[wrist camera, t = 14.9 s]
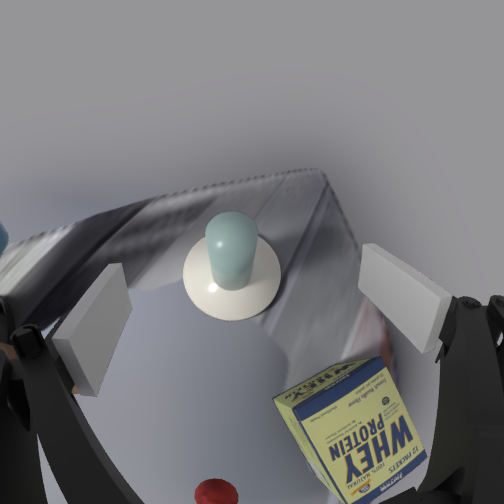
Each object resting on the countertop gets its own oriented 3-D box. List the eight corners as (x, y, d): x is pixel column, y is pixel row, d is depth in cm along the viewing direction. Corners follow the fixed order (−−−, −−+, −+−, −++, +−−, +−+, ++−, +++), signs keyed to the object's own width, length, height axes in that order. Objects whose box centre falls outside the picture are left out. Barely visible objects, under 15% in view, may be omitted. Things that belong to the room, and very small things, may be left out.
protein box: (330, 363, 38) (381, 353, 24) (371, 440, 32) (430, 458, 18) (269, 397, 35) (291, 409, 21) (314, 475, 30) (354, 515, 16)
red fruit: (205, 504, 27) (200, 528, 19) (192, 476, 29) (183, 495, 22) (243, 496, 28) (245, 519, 21) (229, 468, 30) (229, 487, 23)
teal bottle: (211, 290, 41) (203, 257, 30) (212, 254, 43) (206, 211, 32) (252, 290, 41) (259, 257, 30) (250, 254, 44) (257, 211, 33)
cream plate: (182, 320, 39) (180, 319, 38) (187, 232, 46) (186, 229, 45) (282, 320, 40) (284, 318, 39) (276, 232, 47) (277, 229, 46)
